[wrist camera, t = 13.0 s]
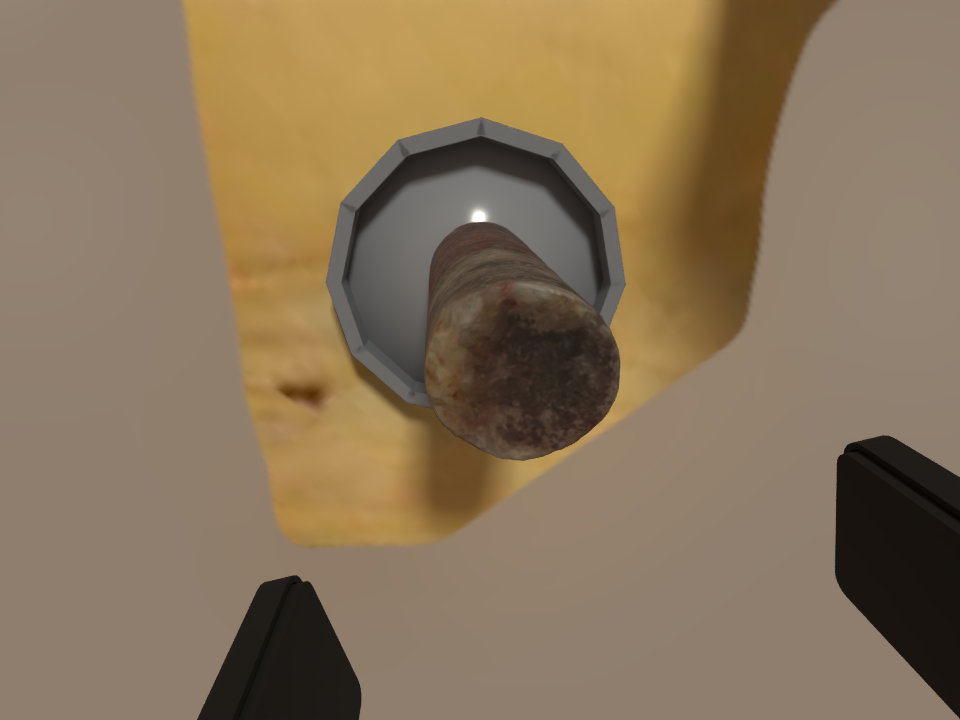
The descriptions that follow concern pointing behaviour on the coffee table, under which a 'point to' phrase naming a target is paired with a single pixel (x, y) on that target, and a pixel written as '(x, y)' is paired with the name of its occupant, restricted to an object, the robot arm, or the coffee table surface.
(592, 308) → the mottled brown cylinder
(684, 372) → the coffee table surface
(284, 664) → the robot arm
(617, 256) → the round tray
